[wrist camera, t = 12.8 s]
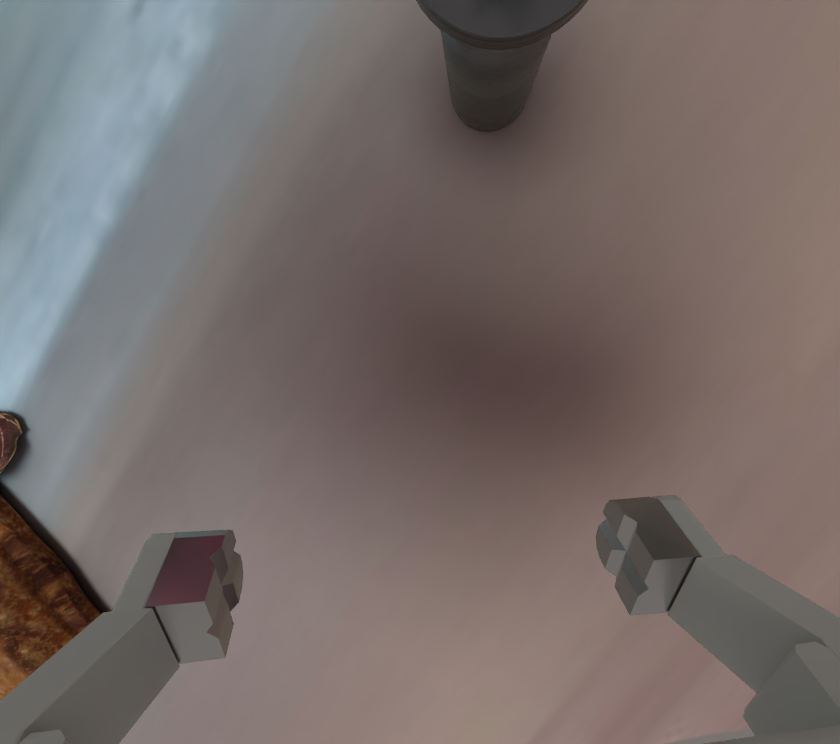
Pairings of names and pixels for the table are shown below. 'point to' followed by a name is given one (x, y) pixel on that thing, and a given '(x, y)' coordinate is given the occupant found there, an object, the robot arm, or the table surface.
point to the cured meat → (32, 589)
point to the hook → (495, 52)
